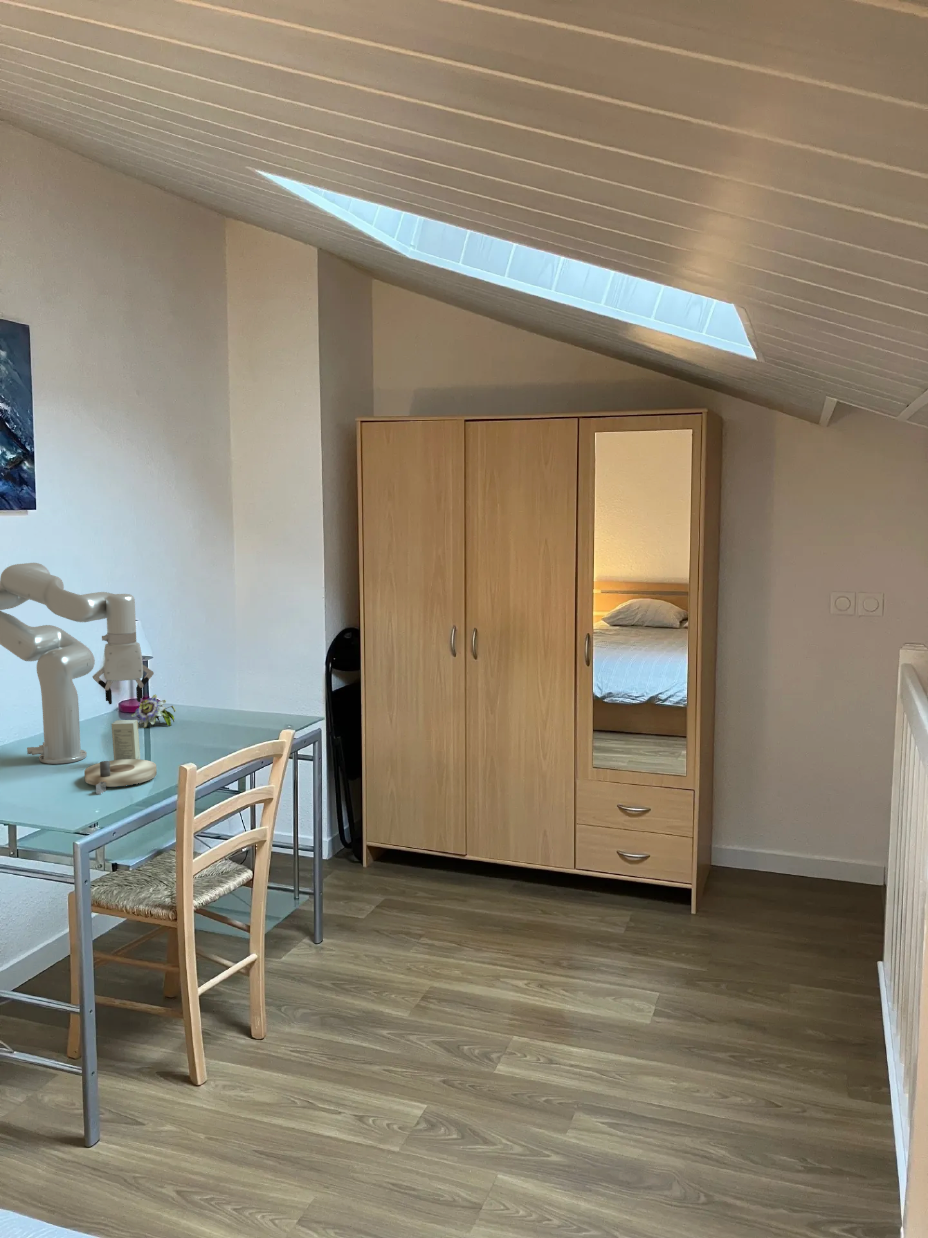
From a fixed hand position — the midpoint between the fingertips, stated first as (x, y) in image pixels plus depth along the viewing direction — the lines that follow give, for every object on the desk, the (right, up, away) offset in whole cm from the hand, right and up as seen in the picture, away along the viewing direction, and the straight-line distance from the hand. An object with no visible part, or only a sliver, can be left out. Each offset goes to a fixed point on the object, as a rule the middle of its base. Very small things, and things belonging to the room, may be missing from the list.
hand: (124, 701), depth 273 cm
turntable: (+3, -20, -12) cm, 23 cm away
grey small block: (+2, -21, -24) cm, 32 cm away
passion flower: (-7, -12, +48) cm, 50 cm away
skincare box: (0, -18, +2) cm, 18 cm away
